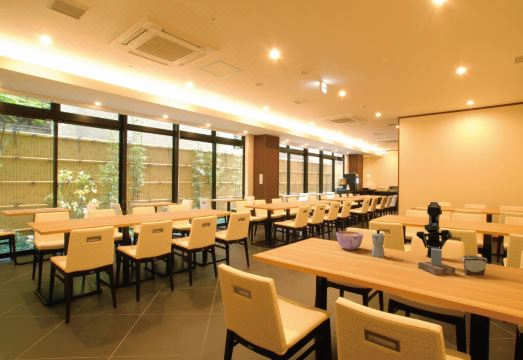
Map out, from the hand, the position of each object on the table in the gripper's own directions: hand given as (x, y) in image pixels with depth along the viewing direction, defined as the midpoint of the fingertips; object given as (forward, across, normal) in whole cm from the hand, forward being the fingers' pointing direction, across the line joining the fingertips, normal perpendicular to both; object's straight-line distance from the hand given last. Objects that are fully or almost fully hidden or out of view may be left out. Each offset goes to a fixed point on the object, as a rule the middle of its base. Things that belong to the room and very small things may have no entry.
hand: (433, 247), depth 177 cm
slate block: (+12, +3, -2) cm, 13 cm away
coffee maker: (+6, -35, 0) cm, 36 cm away
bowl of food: (+1, -59, -1) cm, 59 cm away
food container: (+13, +17, +9) cm, 23 cm away
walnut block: (+16, +2, -1) cm, 16 cm away
